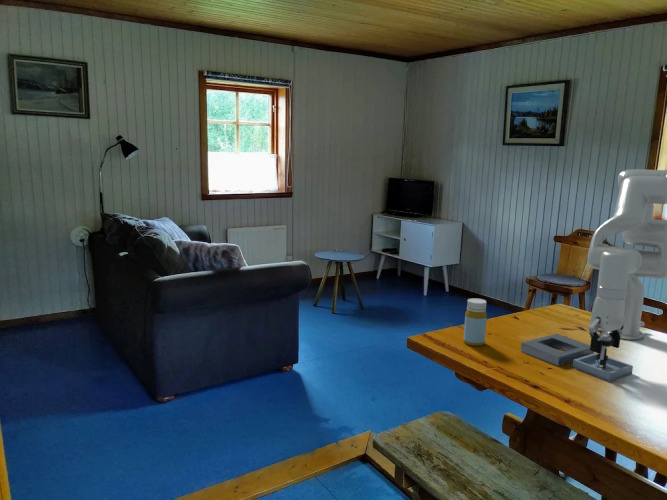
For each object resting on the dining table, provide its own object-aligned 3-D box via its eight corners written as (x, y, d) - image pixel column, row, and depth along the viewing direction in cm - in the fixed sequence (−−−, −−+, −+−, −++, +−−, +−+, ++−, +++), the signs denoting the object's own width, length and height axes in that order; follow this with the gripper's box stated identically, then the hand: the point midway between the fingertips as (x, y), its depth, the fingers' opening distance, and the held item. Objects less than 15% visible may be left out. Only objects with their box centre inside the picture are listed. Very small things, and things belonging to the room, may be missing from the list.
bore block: (555, 341, 180) (556, 333, 180) (593, 355, 168) (594, 346, 168) (520, 351, 171) (521, 342, 170) (558, 366, 159) (559, 357, 159)
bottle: (477, 348, 173) (480, 304, 170) (459, 342, 178) (462, 300, 175) (488, 343, 178) (491, 301, 175) (471, 337, 183) (474, 296, 180)
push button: (610, 373, 153) (614, 341, 151) (590, 369, 155) (594, 337, 153) (611, 365, 158) (615, 334, 156) (591, 362, 161) (595, 331, 159)
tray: (595, 360, 164) (596, 352, 164) (632, 373, 155) (633, 365, 154) (572, 367, 159) (573, 359, 158) (609, 381, 149) (610, 373, 148)
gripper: (616, 286, 160) (609, 340, 163) (581, 293, 151) (575, 350, 154) (640, 292, 153) (633, 348, 157) (605, 300, 145) (599, 358, 148)
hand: (604, 348), depth 155 cm, fingers open, 8 cm apart
